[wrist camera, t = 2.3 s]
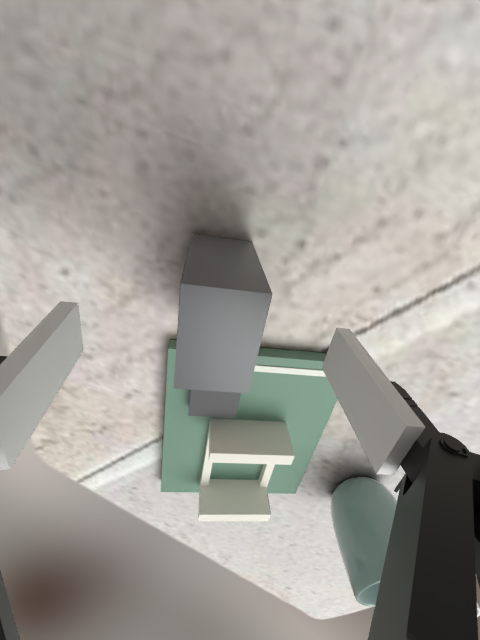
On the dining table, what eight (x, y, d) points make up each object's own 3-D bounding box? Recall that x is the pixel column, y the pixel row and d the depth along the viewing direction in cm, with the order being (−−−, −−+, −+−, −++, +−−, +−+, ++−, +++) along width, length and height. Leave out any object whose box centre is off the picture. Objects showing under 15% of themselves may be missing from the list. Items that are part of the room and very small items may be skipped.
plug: (191, 233, 19) (180, 283, 13) (251, 241, 20) (272, 294, 13) (184, 319, 23) (172, 396, 16) (236, 324, 23) (246, 401, 16)
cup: (311, 500, 38) (341, 606, 29) (342, 462, 34) (386, 571, 25) (363, 506, 39) (405, 608, 31) (398, 471, 36) (456, 576, 27)
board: (170, 339, 23) (161, 380, 19) (347, 354, 26) (372, 394, 22) (162, 481, 33) (155, 528, 29) (292, 483, 35) (303, 527, 31)
